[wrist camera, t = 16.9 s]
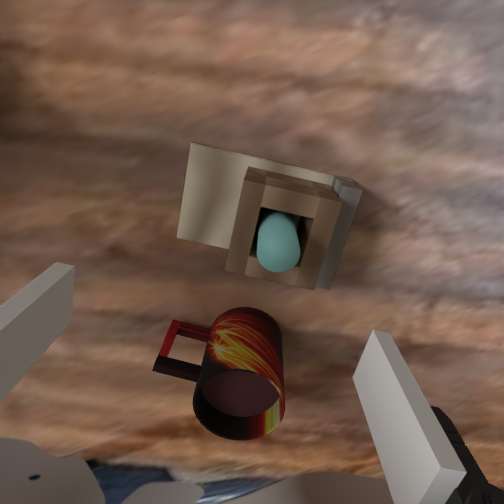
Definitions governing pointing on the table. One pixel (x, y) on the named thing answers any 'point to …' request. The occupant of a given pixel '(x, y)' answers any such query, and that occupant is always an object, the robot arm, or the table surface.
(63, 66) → the table surface
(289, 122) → the table surface
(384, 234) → the table surface
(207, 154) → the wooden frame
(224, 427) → the mug
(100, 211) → the table surface
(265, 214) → the dowel
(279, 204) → the block
